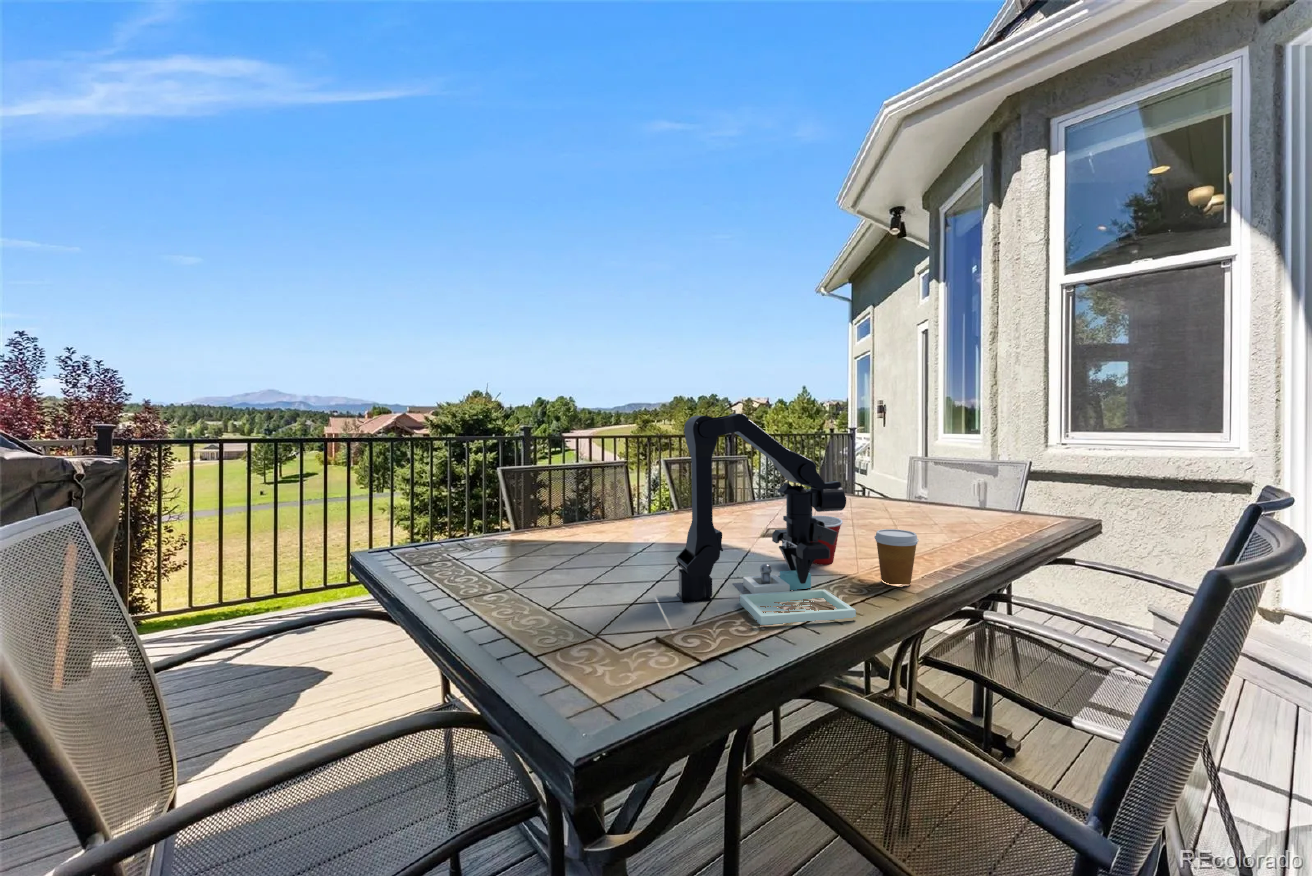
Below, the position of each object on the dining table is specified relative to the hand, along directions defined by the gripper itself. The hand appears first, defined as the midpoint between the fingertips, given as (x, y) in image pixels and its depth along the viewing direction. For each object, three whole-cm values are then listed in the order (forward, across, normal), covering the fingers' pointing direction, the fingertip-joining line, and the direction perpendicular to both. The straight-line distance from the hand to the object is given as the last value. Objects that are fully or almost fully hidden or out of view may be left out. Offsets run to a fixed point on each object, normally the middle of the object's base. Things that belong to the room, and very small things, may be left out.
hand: (799, 580), depth 126 cm
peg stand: (+2, 0, +8) cm, 8 cm away
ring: (+2, 0, +5) cm, 5 cm away
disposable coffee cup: (+2, 0, -24) cm, 24 cm away
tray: (+2, -14, +7) cm, 16 cm away
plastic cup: (+2, +20, -15) cm, 25 cm away
